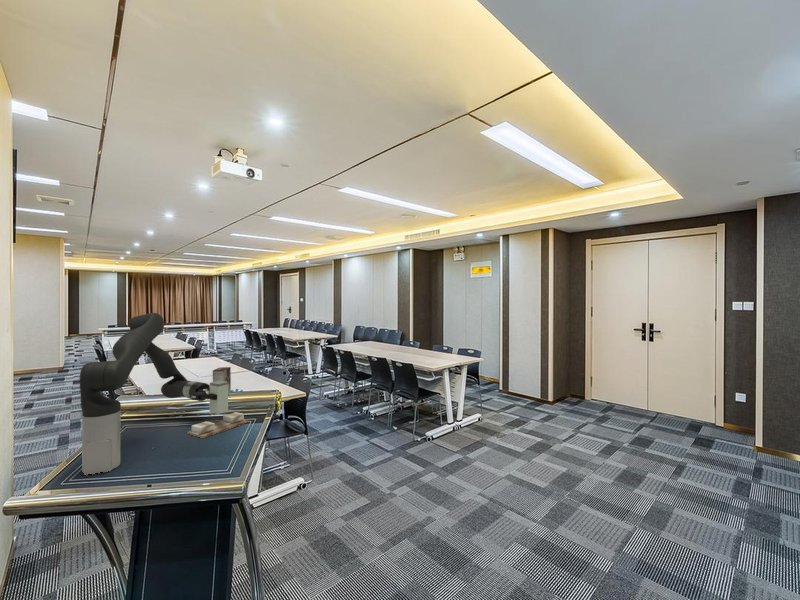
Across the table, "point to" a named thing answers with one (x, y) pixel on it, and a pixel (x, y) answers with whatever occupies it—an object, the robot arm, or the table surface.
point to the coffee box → (223, 375)
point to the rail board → (217, 425)
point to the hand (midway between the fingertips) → (222, 395)
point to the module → (219, 397)
